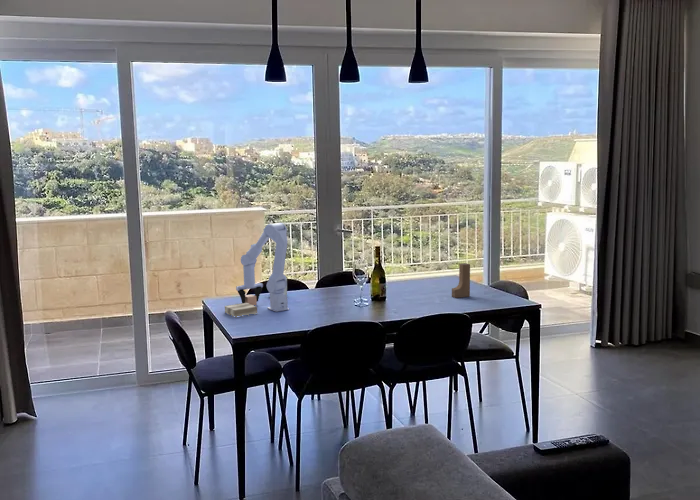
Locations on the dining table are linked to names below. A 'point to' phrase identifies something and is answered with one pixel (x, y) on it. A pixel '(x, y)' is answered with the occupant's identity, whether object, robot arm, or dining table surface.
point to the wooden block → (463, 282)
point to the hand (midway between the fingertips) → (250, 302)
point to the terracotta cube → (251, 299)
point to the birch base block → (240, 309)
